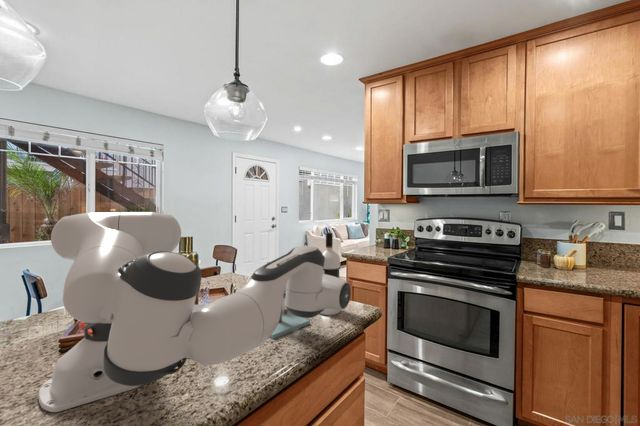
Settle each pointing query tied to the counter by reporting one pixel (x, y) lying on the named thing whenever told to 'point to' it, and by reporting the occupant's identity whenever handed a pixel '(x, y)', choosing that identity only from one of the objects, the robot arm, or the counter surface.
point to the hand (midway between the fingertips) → (277, 276)
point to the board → (288, 323)
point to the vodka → (331, 267)
